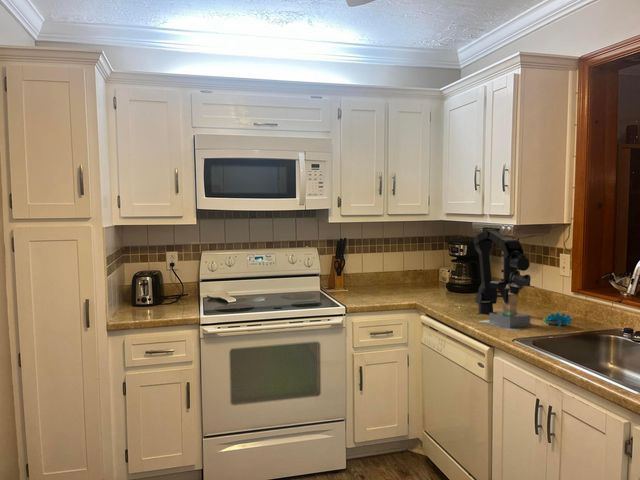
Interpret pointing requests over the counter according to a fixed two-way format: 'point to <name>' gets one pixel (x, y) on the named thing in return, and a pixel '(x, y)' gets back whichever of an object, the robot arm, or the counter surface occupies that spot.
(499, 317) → the guide block
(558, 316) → the blue spiky toy
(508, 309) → the post
